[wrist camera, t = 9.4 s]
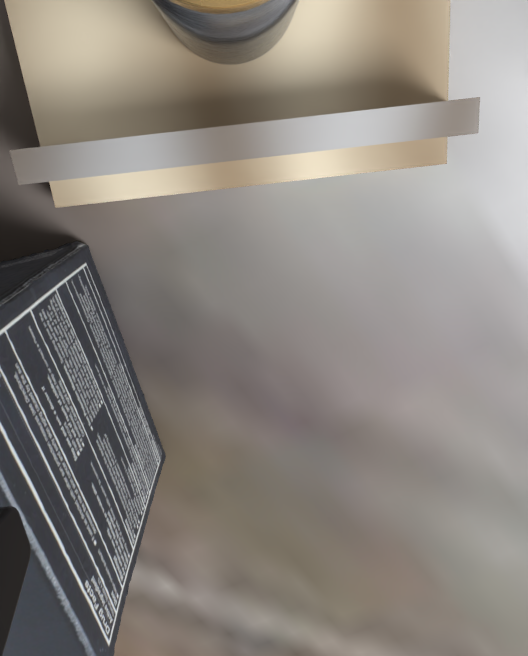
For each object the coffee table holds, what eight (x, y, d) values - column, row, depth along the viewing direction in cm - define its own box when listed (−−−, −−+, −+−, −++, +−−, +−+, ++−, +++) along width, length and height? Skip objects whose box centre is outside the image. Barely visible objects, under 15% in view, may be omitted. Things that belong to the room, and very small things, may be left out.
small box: (-69, 276, 20) (-369, 410, 10) (88, 236, 20) (-65, 334, 10) (36, 489, 24) (-109, 736, 14) (170, 458, 23) (118, 689, 14)
